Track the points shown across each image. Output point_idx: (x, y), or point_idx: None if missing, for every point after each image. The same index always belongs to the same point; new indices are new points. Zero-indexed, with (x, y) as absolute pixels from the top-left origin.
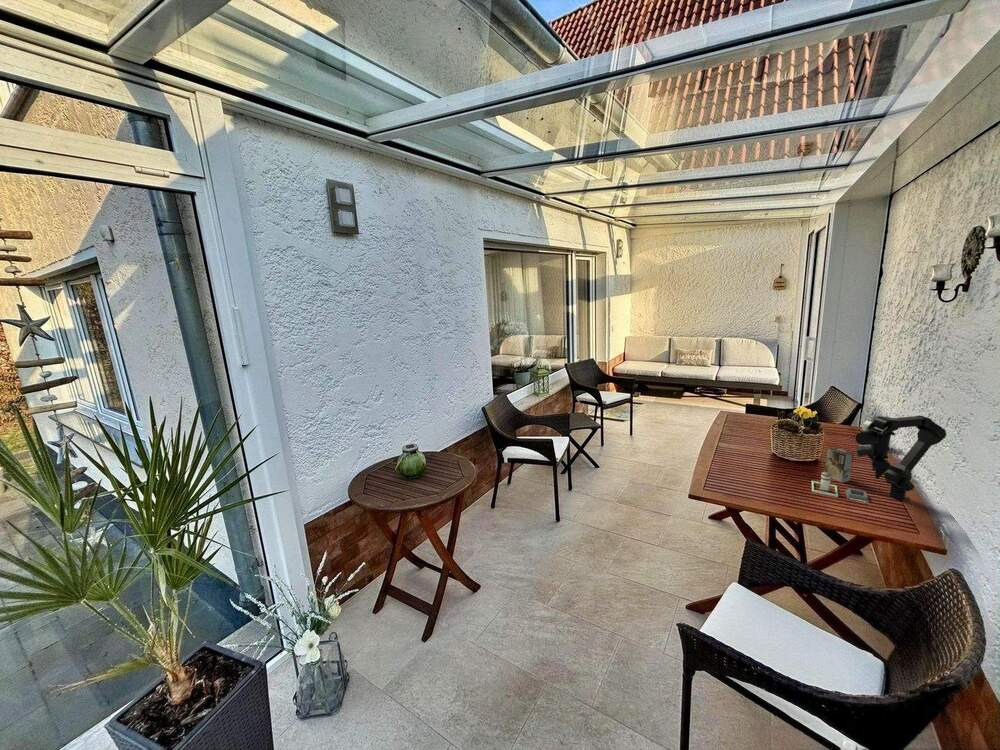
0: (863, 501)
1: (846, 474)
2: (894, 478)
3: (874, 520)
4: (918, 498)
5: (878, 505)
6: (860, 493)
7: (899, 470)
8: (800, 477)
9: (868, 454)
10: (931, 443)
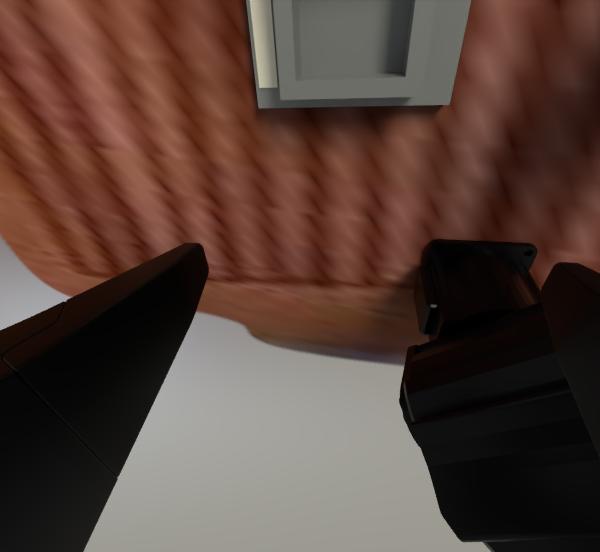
0: (255, 65)
1: None
2: (442, 386)
3: (31, 114)
4: None
5: (286, 165)
6: (406, 47)
7: (484, 512)
8: None
9: None
10: None
